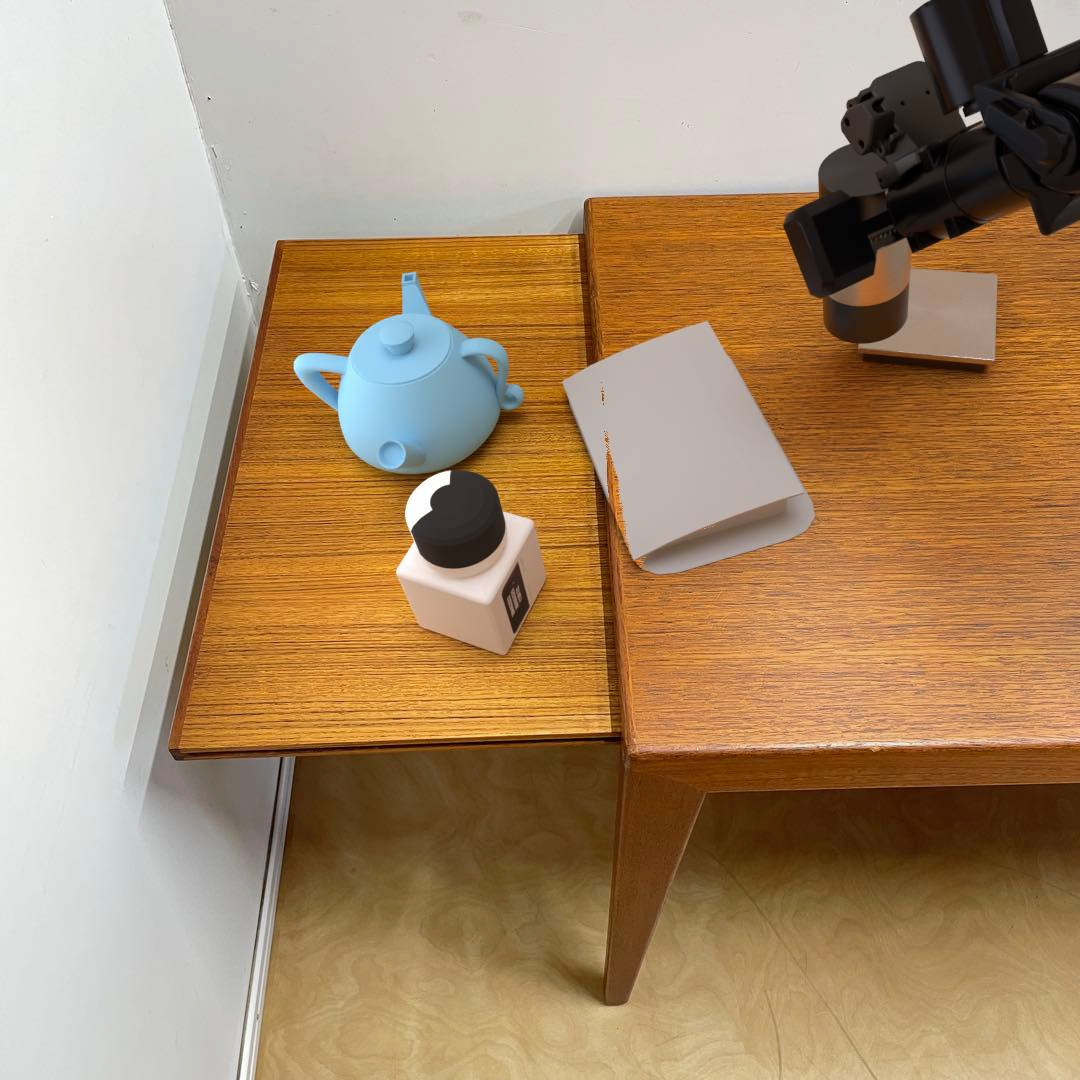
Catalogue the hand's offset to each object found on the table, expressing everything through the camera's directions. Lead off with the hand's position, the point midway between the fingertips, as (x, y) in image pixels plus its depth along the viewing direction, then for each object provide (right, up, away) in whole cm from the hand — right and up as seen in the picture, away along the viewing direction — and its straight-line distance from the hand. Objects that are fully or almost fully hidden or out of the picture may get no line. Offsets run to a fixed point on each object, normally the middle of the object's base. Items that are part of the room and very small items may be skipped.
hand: (852, 233), depth 77 cm
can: (+3, -5, +5) cm, 8 cm away
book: (-12, -16, +7) cm, 22 cm away
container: (-29, -29, +1) cm, 41 cm away
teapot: (-35, -14, +13) cm, 39 cm away
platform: (+10, -5, +12) cm, 16 cm away
